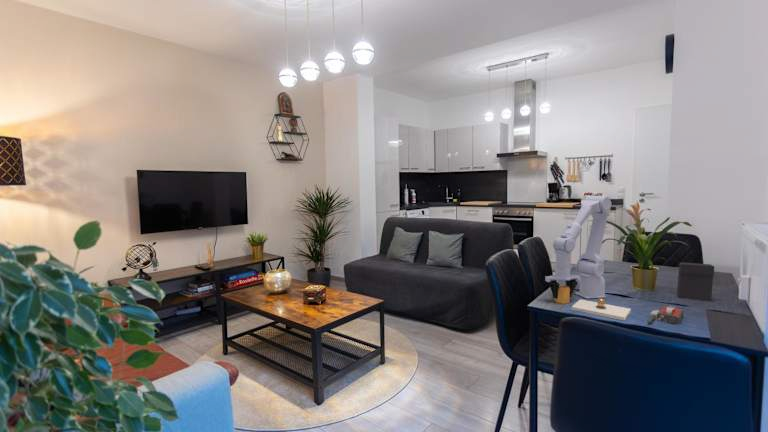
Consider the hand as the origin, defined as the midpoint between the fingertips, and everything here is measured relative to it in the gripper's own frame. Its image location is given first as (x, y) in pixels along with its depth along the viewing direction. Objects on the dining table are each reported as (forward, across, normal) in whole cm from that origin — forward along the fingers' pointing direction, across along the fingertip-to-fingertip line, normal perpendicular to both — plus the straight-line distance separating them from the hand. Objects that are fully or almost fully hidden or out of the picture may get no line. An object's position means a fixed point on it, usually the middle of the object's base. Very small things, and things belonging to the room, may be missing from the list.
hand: (561, 297), depth 159 cm
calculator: (+2, +57, -6) cm, 57 cm away
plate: (+2, +8, -13) cm, 15 cm away
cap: (+2, 0, 0) cm, 2 cm away
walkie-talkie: (+2, +24, -25) cm, 35 cm away
